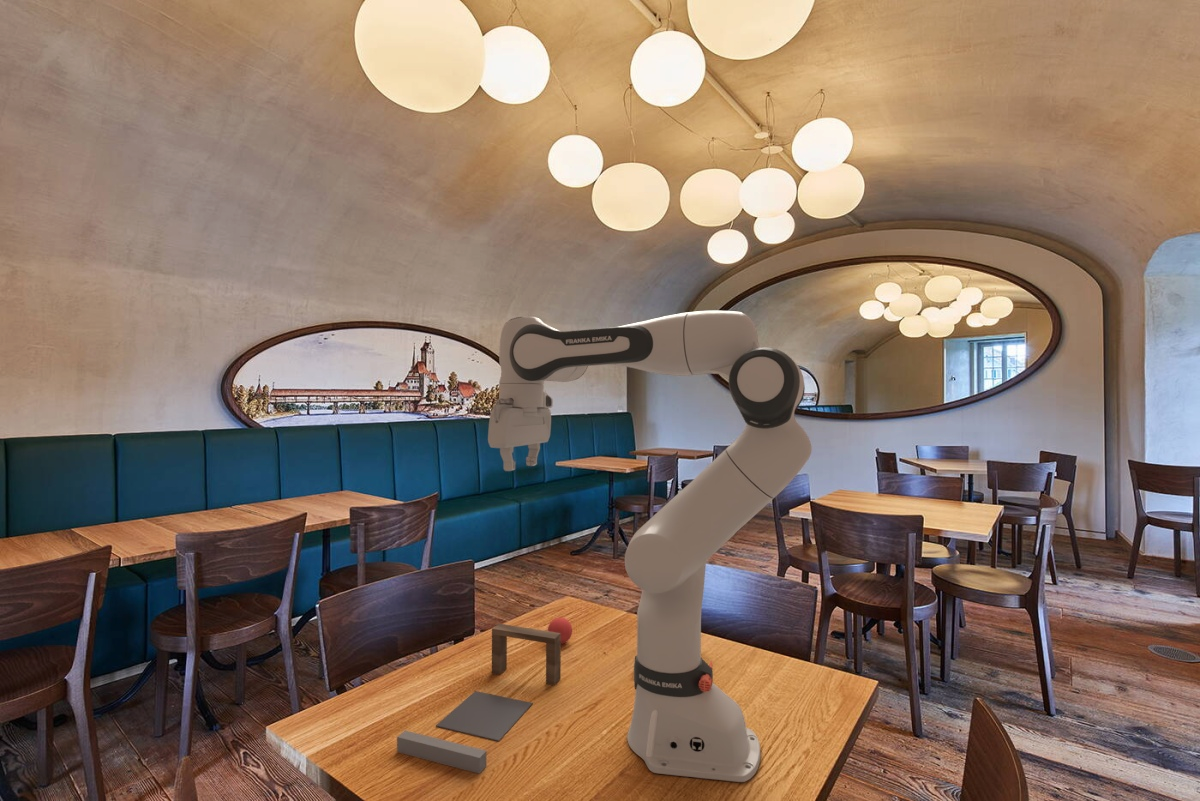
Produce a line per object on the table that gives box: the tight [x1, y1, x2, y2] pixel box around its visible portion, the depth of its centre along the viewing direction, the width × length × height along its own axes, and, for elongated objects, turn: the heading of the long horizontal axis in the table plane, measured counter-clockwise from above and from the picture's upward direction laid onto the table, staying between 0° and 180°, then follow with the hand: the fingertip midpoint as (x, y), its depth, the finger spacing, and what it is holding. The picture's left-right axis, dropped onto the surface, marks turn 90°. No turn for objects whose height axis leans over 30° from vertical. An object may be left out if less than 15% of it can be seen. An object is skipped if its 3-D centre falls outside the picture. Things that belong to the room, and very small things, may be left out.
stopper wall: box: [396, 730, 487, 774], centre depth 92 cm, size 16×2×2 cm, turn 70°
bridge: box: [491, 623, 562, 686], centre depth 120 cm, size 3×15×10 cm, turn 70°
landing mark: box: [435, 690, 534, 742], centre depth 105 cm, size 13×13×1 cm
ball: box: [547, 617, 573, 645], centre depth 137 cm, size 6×6×6 cm
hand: (520, 468), depth 112 cm, fingers open, 8 cm apart
